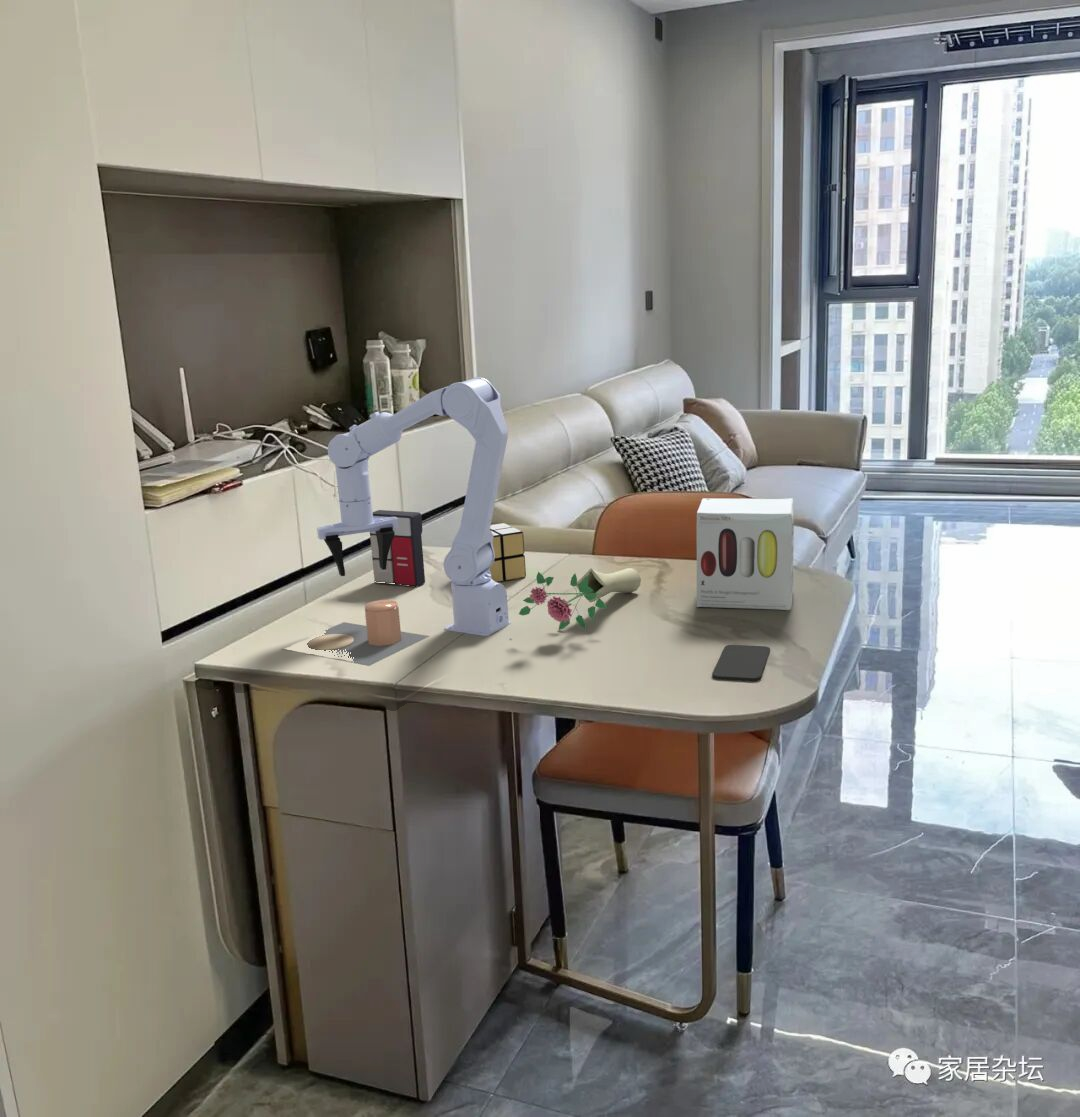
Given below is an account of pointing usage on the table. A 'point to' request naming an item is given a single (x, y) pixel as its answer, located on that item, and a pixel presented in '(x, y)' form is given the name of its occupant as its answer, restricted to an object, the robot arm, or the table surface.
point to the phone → (741, 663)
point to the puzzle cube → (507, 553)
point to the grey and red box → (401, 550)
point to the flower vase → (584, 593)
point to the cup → (382, 622)
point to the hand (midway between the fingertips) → (362, 571)
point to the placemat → (363, 649)
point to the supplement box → (745, 553)
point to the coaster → (330, 642)
